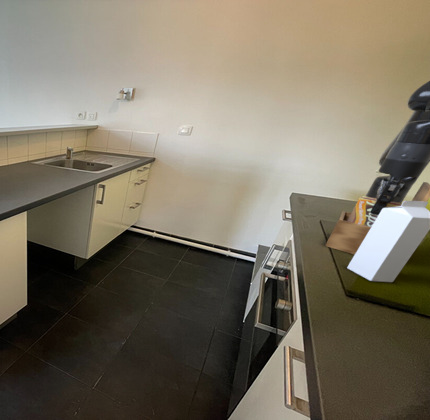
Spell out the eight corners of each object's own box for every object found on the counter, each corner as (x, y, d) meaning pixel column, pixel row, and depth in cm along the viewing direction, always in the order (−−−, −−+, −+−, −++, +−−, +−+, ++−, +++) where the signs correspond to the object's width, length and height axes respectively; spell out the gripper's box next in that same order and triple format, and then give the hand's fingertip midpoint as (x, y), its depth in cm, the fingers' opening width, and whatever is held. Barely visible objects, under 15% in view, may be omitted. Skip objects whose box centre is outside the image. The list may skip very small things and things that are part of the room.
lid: (429, 189, 66) (466, 194, 62) (423, 181, 74) (455, 186, 70) (401, 233, 71) (433, 240, 67) (398, 221, 79) (426, 227, 75)
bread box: (325, 246, 83) (339, 219, 79) (329, 234, 92) (342, 210, 88) (383, 263, 74) (402, 235, 70) (382, 249, 83) (399, 223, 79)
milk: (346, 268, 71) (388, 196, 63) (367, 269, 71) (411, 197, 63) (371, 281, 65) (420, 204, 57) (393, 282, 65) (446, 205, 57)
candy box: (378, 247, 80) (405, 203, 74) (376, 250, 78) (404, 206, 72) (339, 236, 87) (361, 195, 81) (337, 238, 84) (359, 197, 79)
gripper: (431, 163, 65) (394, 221, 71) (425, 159, 73) (392, 211, 80) (386, 158, 70) (356, 213, 76) (385, 155, 78) (358, 204, 85)
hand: (375, 212), depth 78 cm, fingers closed on candy box, 4 cm apart
